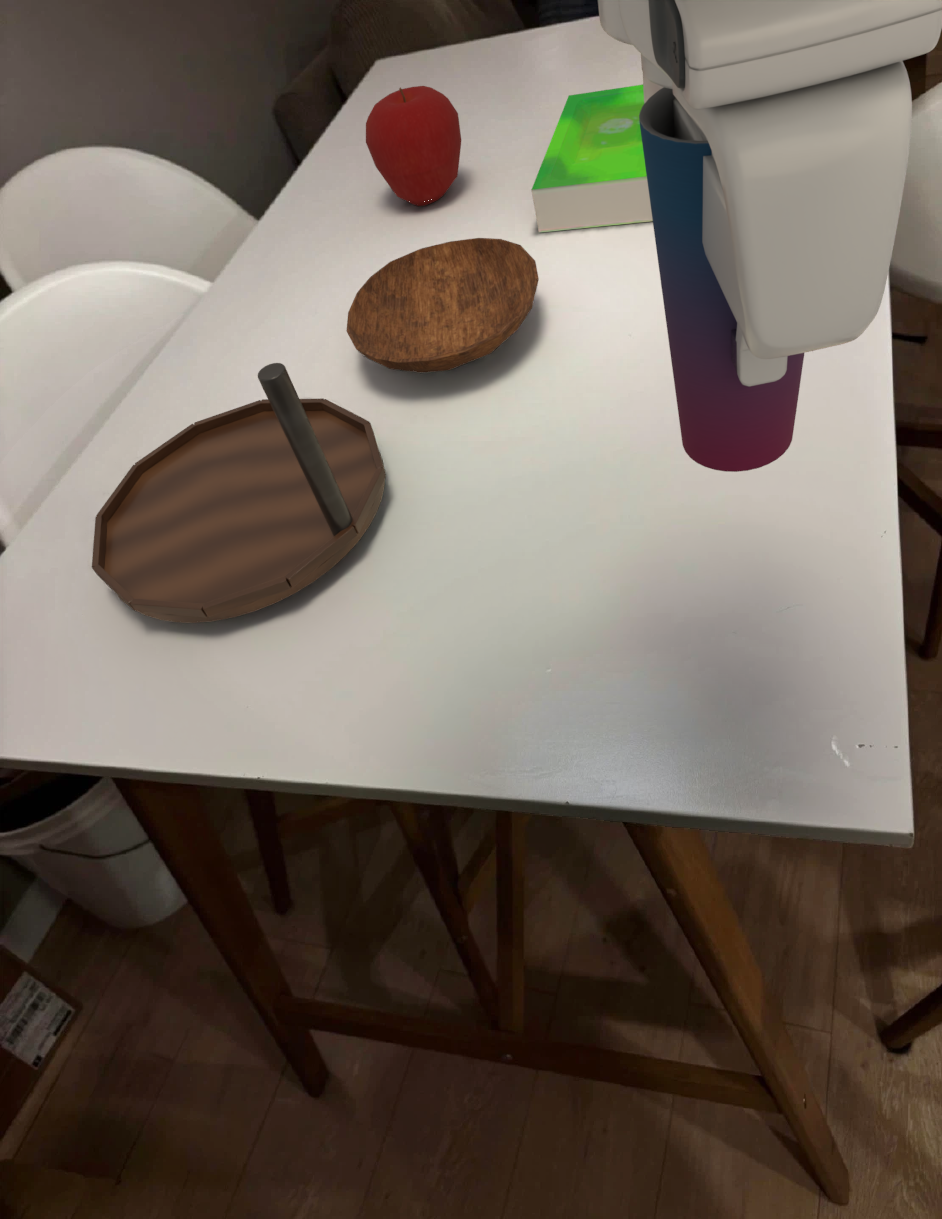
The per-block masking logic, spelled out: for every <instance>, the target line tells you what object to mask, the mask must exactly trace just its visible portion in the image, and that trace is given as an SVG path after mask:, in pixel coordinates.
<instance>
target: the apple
mask: <svg viewBox="0 0 942 1219" xmlns="http://www.w3.org/2000/svg"><path fill="white" fill-rule="evenodd" d="M365 144H366V146H367V148H368V151H369V153H370V156H371V159H372V162H373V164H374V166H375V168H376V170H377V171H378V172H379V173H380V175H381V176H382V178H383V179H384V181H386V183H387V185H388V186H389V188H390V189H391V191H392V192H393V193H394V195H395V196H396V197H398V198H400V199H401V200H403V201H405V200H406V202H407V203H409V204H411V205H413V206H416V207H424V206H428V205H430V204H433V203H435V202H437V201H439V200H441V198H443V197H444V196H445V195H446V193H447V191H449V189H450V188H451V187H452V184H453V183H454V182H455V181H456V179H457V178H458V175H459V167H460V158H461V149H462V135H461V125H460V117H459V113H458V111H457V109H456V108H455V107H454V105H453V103H452V101H450V99H449V97H447V96H446V95H445V94H444V93H442V92H440V91H438V90H436V89H435V88H433V87H430V86H427V85H418V86H417V85H416V86H409V87H404V88H402V87H399V88H398V90H395V91H393V92H391V93H389V94H387V95H386V96H385V97H383V98H381V99H380V100H378V102H376V103H375V104H374V105H373V107H372V109H371V111H370V113H369V115H368V116H367V119H366V122H365ZM431 199H432V200H431ZM428 200H429V201H428ZM409 201H410V202H409ZM424 201H425V202H424Z"/></svg>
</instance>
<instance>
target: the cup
mask: <svg viewBox="0 0 942 1219" xmlns="http://www.w3.org/2000/svg"><path fill="white" fill-rule="evenodd" d="M675 98H676V97H675V96H674V95H673V89H669V88H665V87H663V88H662V89H660V90H659V91H657V92H656V93H655V94H654V95H652V96H651V97H650V98H649V99H648V100H647V101H646V103H645V104H644V105H643V106H642V109H641V111H640V114H639V121H640V129H641V137H642V144H643V152H644V159H645V167H646V174H647V182H648V189H649V197H650V204H651V212H652V219H653V221H652V227H653V234H654V240H655V248H656V256H657V263H658V270H659V280H660V286H661V293H662V294H661V295H662V301H663V307H664V315H665V316H664V317H665V322H666V332H667V339H668V345H669V353H670V362H671V368H672V376H673V383H674V391H675V399H676V406H677V413H678V420H679V421H678V422H679V428H680V429H679V430H680V435H681V443H682V448H683V449H684V450H683V451H684V452H685V453H686V455H687V456H688V457H689V459H691V460H692V461H694V462H695V463H696V464H698V465H700V466H703V467H704V468H707V469H711V470H714V471H719V472H731V473H733V472H734V473H737V472H746V471H747V472H748V471H751V470H755V469H760V468H762V467H765V466H768V465H770V464H771V463H774V462H775V461H776V460H778V459H779V458H781V457H782V456H783V455H784V454H785V453H786V452H787V451H788V449H789V448H790V447H791V444H792V442H793V437H794V430H795V422H796V415H797V408H798V401H799V395H800V388H801V382H802V381H801V380H802V375H803V367H804V360H805V353H800V354H795V355H790V356H787V370H786V373H785V375H784V376H783V377H782V378H781V379H779V380H777V381H774V382H769V383H764V384H759V385H754V386H750V387H749V386H746V385H743V384H742V383H741V381H740V380H739V377H738V375H737V372H736V370H735V367H734V365H733V362H732V358H731V354H732V345H731V330H733V329H737V321H736V319H735V317H734V315H733V313H732V311H731V308H730V306H729V304H728V302H727V300H726V298H725V296H724V293H723V291H722V289H721V287H720V285H719V283H718V280H717V278H716V276H715V274H714V272H713V270H712V267H711V265H710V263H709V261H708V259H707V257H706V254H705V250H704V246H703V242H702V232H703V156H712V150H711V148H710V145H709V142H708V141H695V140H683V139H678V138H674V115H673V100H674V99H675Z"/></svg>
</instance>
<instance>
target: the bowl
mask: <svg viewBox="0 0 942 1219" xmlns="http://www.w3.org/2000/svg"><path fill="white" fill-rule="evenodd" d="M537 268H538V267H537V263H536V260H535V259H534V258H533V257H532V255H531V254H529V253H528V251H527V250H526V249H525V248H524V247H523V245H521V244H519V243H516V242H512V241H509V240H505V239H502V238H492V237H491V238H490V237H474V238H466V239H458V240H451V241H446V242H443V243H438V244H434V245H430V246H426V247H422V248H419V249H417V250H414V251H411V252H409V253H407V254H405V255H403V256H399V257H398V258H396V259H395V258H394V260H391V261H389V262H387V263H386V264H385V265H384V266H383V267H381V268H380V269H379V270H377V271H376V272H375V273H373V274H372V275H371V276H369V278H368V279H367V280H366V281H365V283H363V285H362V286H361V287H360V288H359V290H357V292H356V293H355V296H354V298H353V300H352V303H351V305H350V307H349V310H348V312H347V319H346V320H347V321H346V330H345V331H346V334H347V336H348V337H349V340H350V341H351V342H352V344H353V347H354V348H355V350H356V351H358V353H360V354H361V355H363V356H364V357H365V358H366V359H369V360H370V361H372V362H375V363H376V364H379V365H381V366H383V367H385V368H387V369H389V370H397V371H402V372H403V371H404V372H411V373H419V374H424V373H425V374H426V373H436V372H437V373H438V372H445V371H450V370H453V369H456V368H459V367H462V366H463V365H466V364H469V363H471V362H473V361H475V360H479V359H481V358H483V357H486V356H489V355H490V354H492V353H493V352H494V351H495V350H497V348H499V347H500V346H501V345H502V344H504V343H505V342H506V341H507V340H508V339H509V338H511V336H513V334H515V333H516V332H517V331H518V330H519V328H520V327H521V325H522V324H523V322H524V321H525V319H526V318H527V316H528V315H529V313H530V312H531V311H532V309H533V306H534V301H535V297H536V294H537V293H536V292H537V288H538V284H539V279H540V277H539V273H538V269H537Z"/></svg>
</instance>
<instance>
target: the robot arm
mask: <svg viewBox="0 0 942 1219" xmlns="http://www.w3.org/2000/svg"><path fill="white" fill-rule="evenodd" d="M597 6H598V7H597V8H598V16H599V23H600V26H601V28H602V30H603V32H605V34H606V35H608V36H609V37H610V38H612V39H614V40H616V41H619V42H621V43H623V44H626V45H628V46H629V45H630V46H633V47H634V48H635V50H637V52H639V54H640V63H641V64H640V65H641V71H642V84H643V91H644V104H645V103H646V101H647V100H648V99H649V98H650V97H651V96H652V95H654V94H655V93H656V92H657V91H659V90H660V89H662V88H663V87H665V88H669V89H673V95H674V96H675V97H676V98H675V99H674V100H673V115H674V138H678V139H683V140H695V141H708V142H709V145H710V148H711V150H712V156H703V232H702V242H703V246H704V250H705V254H706V257H707V259H708V261H709V263H710V265H711V267H712V270H713V272H714V274H715V276H716V278H717V280H718V283H719V285H720V287H721V289H722V291H723V293H724V296H725V298H726V300H727V302H728V304H729V306H730V308H731V311H732V313H733V315H734V317H735V319H736V321H737V329H733V330H731V345H732V354H731V358H732V362H733V365H734V367H735V370H736V372H737V375H738V377H739V380H740V381H741V383H742V384H743V385H746V386H749V387H750V386H754V385H759V384H764V383H769V382H774V381H777V380H779V379H781V378H782V377H783V376H784V375H785V373H786V370H787V356H790V355H795V354H800V353H804V354H805V353H809V352H814V351H818V350H823V349H828V348H832V347H837V346H841V345H845V344H848V343H850V342H853V341H855V340H856V339H858V338H859V337H860V336H862V334H863V333H864V332H865V331H866V330H867V328H868V327H870V325H871V324H872V322H873V321H874V320H875V318H876V316H877V315H878V313H879V310H880V307H881V305H882V302H883V299H884V298H883V297H884V294H885V289H886V285H887V280H888V275H889V271H890V265H891V261H892V256H893V251H894V250H893V249H894V247H895V246H894V245H895V240H896V235H897V229H898V224H899V219H900V213H901V207H902V202H903V195H904V189H905V182H906V176H907V171H908V170H907V169H908V163H909V156H910V155H909V154H910V149H911V148H910V147H911V139H912V124H913V98H912V88H911V82H910V78H909V73H908V71H907V68H906V66H905V63H904V61H906V60H910V59H913V58H917V57H919V56H923V55H925V54H928V53H930V52H931V51H933V50H934V49H935V47H937V44H938V42H939V40H940V37H941V33H942V0H597Z"/></svg>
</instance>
